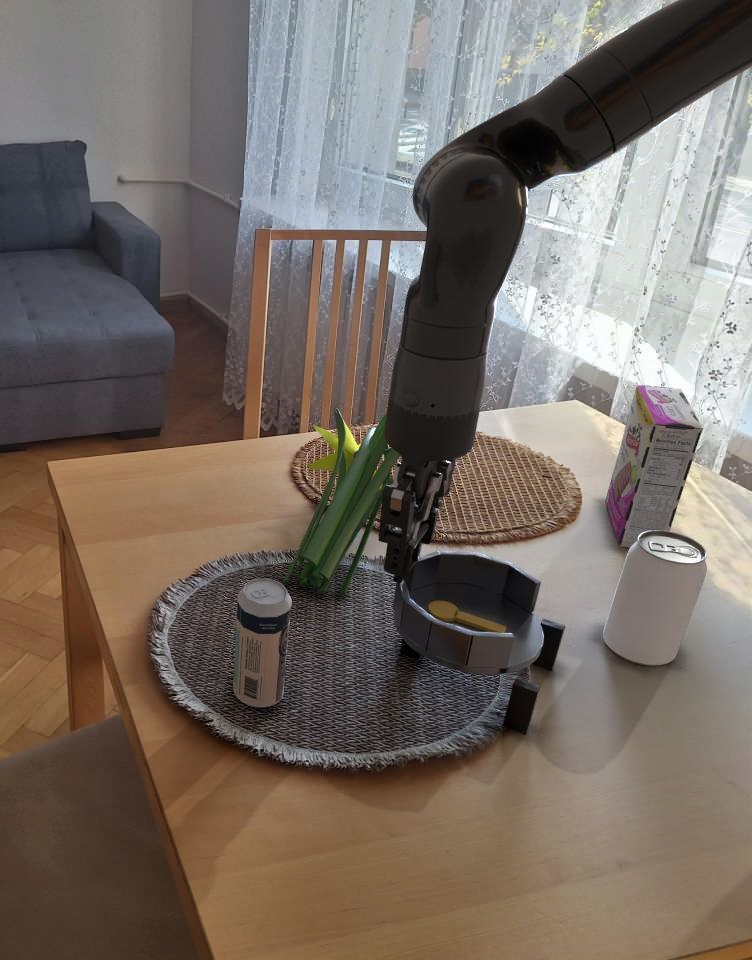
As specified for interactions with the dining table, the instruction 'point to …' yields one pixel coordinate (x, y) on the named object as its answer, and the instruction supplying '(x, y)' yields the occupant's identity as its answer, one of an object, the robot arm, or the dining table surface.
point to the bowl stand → (522, 690)
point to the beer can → (261, 642)
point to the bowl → (468, 610)
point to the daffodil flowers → (344, 503)
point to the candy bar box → (652, 462)
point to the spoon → (461, 617)
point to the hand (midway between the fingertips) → (408, 555)
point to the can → (655, 597)
